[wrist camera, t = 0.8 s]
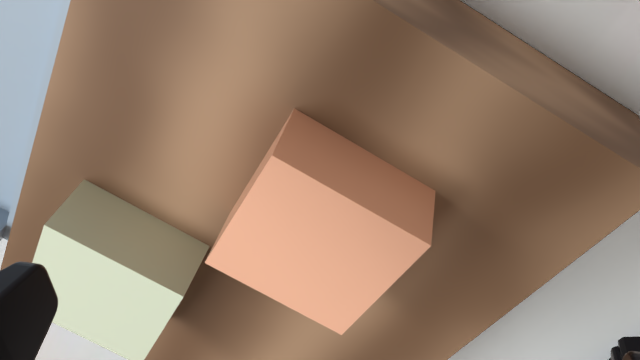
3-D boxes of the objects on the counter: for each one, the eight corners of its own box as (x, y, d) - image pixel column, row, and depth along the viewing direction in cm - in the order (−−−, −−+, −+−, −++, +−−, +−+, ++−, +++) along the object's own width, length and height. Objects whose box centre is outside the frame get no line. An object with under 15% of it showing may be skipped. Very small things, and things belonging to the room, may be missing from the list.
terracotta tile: (435, 191, 18) (431, 245, 16) (353, 279, 21) (341, 335, 19) (294, 108, 17) (271, 155, 15) (230, 212, 20) (204, 262, 18)
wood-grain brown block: (637, 115, 20) (669, 187, 16) (341, 381, 32) (327, 452, 29) (178, -181, 17) (113, -163, 14) (46, 230, 29) (-5, 289, 26)
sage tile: (209, 246, 22) (183, 296, 20) (166, 315, 25) (140, 365, 23) (83, 179, 21) (44, 224, 19) (55, 259, 24) (18, 305, 22)
